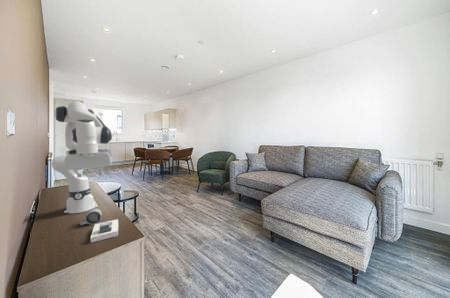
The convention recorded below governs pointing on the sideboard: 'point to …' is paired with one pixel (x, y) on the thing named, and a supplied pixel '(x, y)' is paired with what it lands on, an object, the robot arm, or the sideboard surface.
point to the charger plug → (104, 227)
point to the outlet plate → (113, 232)
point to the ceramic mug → (92, 217)
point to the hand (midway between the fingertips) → (90, 175)
